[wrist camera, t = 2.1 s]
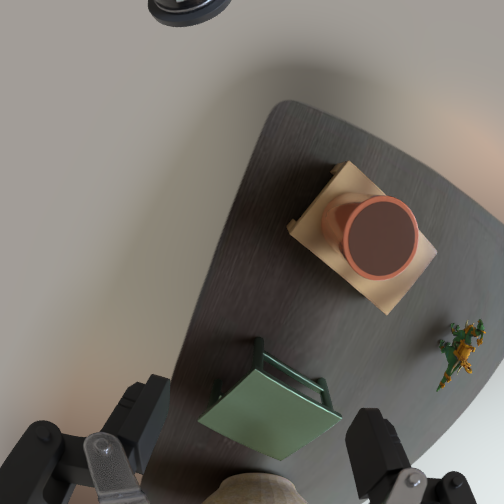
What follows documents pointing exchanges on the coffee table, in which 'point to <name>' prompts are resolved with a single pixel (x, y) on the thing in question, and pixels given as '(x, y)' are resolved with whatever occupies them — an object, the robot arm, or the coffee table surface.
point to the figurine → (460, 349)
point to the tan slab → (312, 238)
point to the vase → (256, 490)
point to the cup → (371, 233)
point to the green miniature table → (269, 409)
